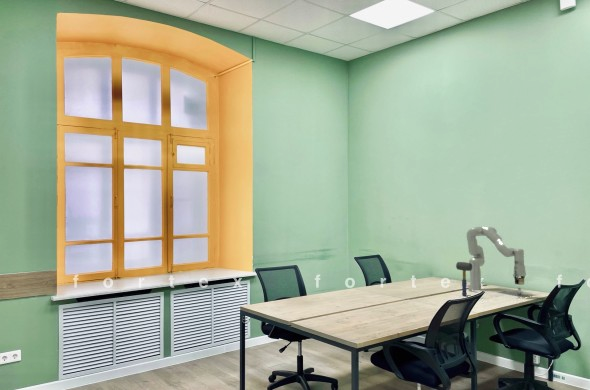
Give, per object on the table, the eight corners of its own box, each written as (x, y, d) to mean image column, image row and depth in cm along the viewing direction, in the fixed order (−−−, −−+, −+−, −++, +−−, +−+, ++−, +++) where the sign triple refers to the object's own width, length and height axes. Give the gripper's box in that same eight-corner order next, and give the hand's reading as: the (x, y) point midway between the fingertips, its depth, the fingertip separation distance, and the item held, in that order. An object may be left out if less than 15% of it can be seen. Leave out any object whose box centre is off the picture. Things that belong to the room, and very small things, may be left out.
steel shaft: (517, 295, 393) (517, 287, 393) (519, 294, 394) (519, 287, 394) (519, 295, 391) (519, 288, 391) (521, 295, 392) (521, 288, 392)
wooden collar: (513, 283, 395) (512, 277, 395) (518, 282, 398) (518, 277, 398) (521, 285, 388) (520, 279, 388) (526, 284, 391) (526, 278, 391)
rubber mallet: (473, 296, 396) (472, 262, 396) (468, 297, 391) (468, 263, 391) (460, 294, 405) (459, 261, 406) (455, 295, 400) (455, 261, 401)
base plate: (496, 293, 407) (496, 292, 407) (505, 292, 412) (505, 290, 412) (520, 298, 386) (520, 297, 386) (529, 297, 391) (529, 295, 391)
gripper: (516, 264, 386) (516, 284, 386) (529, 262, 394) (529, 283, 393) (508, 263, 393) (509, 283, 392) (521, 261, 401) (522, 281, 400)
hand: (519, 283), depth 393 cm, fingers closed on wooden collar, 7 cm apart
